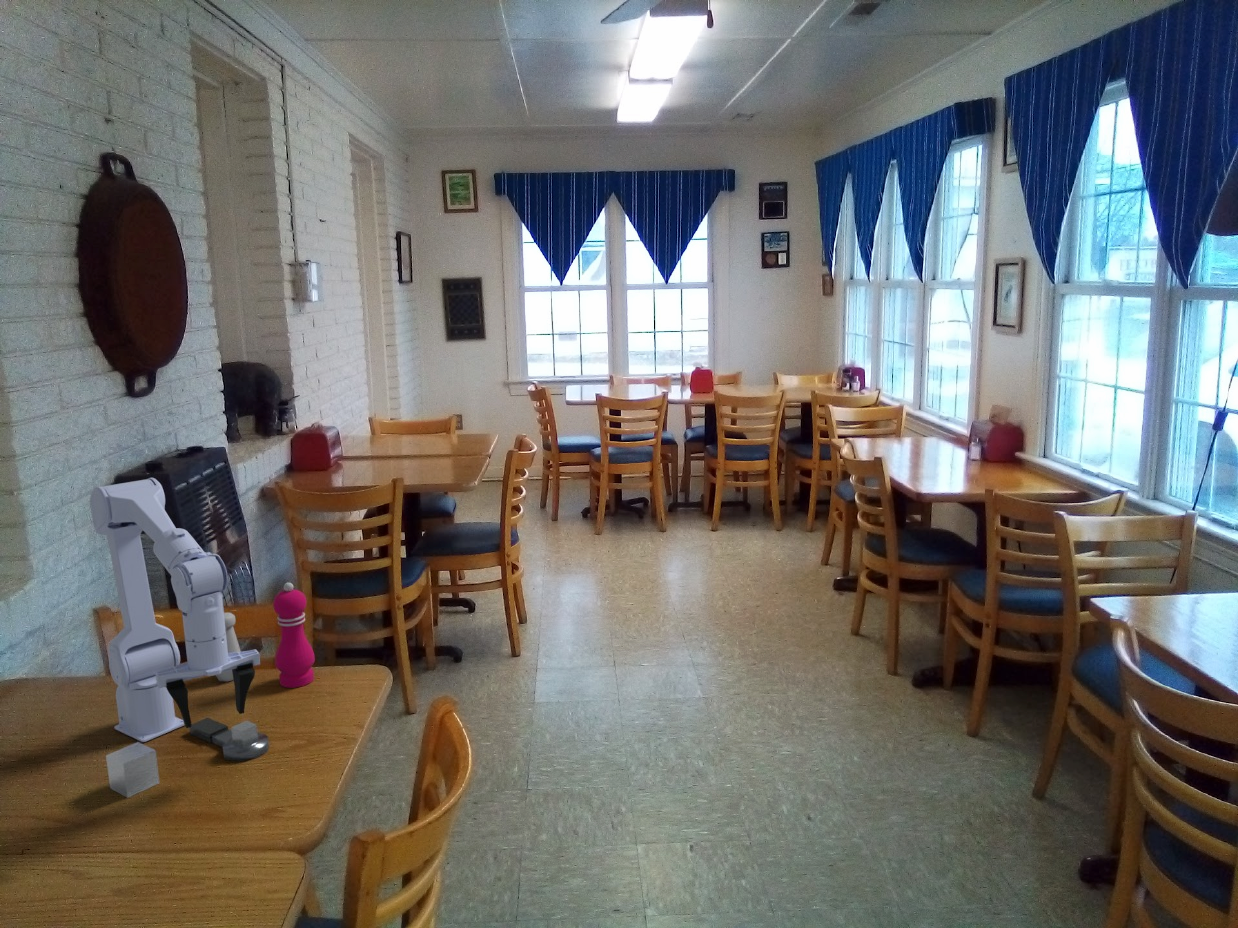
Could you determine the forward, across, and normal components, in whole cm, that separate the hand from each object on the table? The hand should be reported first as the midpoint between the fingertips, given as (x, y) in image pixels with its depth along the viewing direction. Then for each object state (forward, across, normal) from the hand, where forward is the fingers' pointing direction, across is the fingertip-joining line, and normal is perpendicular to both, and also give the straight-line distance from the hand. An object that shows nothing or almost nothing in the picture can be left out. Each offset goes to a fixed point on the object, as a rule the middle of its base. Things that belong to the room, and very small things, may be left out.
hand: (214, 718), depth 143 cm
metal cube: (+10, -11, +5) cm, 16 cm away
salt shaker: (+10, +10, +39) cm, 41 cm away
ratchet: (+10, +4, +11) cm, 15 cm away
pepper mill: (+10, +20, +29) cm, 37 cm away
